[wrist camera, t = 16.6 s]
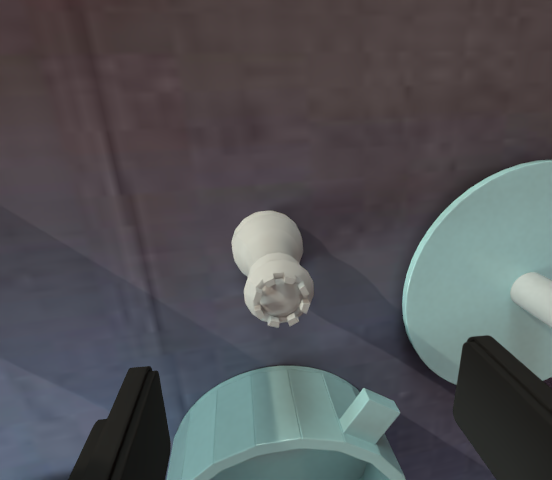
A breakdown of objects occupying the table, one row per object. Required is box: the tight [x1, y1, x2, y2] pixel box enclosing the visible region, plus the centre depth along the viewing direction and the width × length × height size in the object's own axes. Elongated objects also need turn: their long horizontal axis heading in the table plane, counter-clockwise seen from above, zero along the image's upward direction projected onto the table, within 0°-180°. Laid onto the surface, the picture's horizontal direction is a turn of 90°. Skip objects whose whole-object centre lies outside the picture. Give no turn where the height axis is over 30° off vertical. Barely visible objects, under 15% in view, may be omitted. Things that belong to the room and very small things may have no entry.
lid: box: [402, 160, 552, 385], centre depth 24 cm, size 18×18×6 cm
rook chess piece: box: [232, 211, 314, 328], centre depth 20 cm, size 4×4×8 cm
